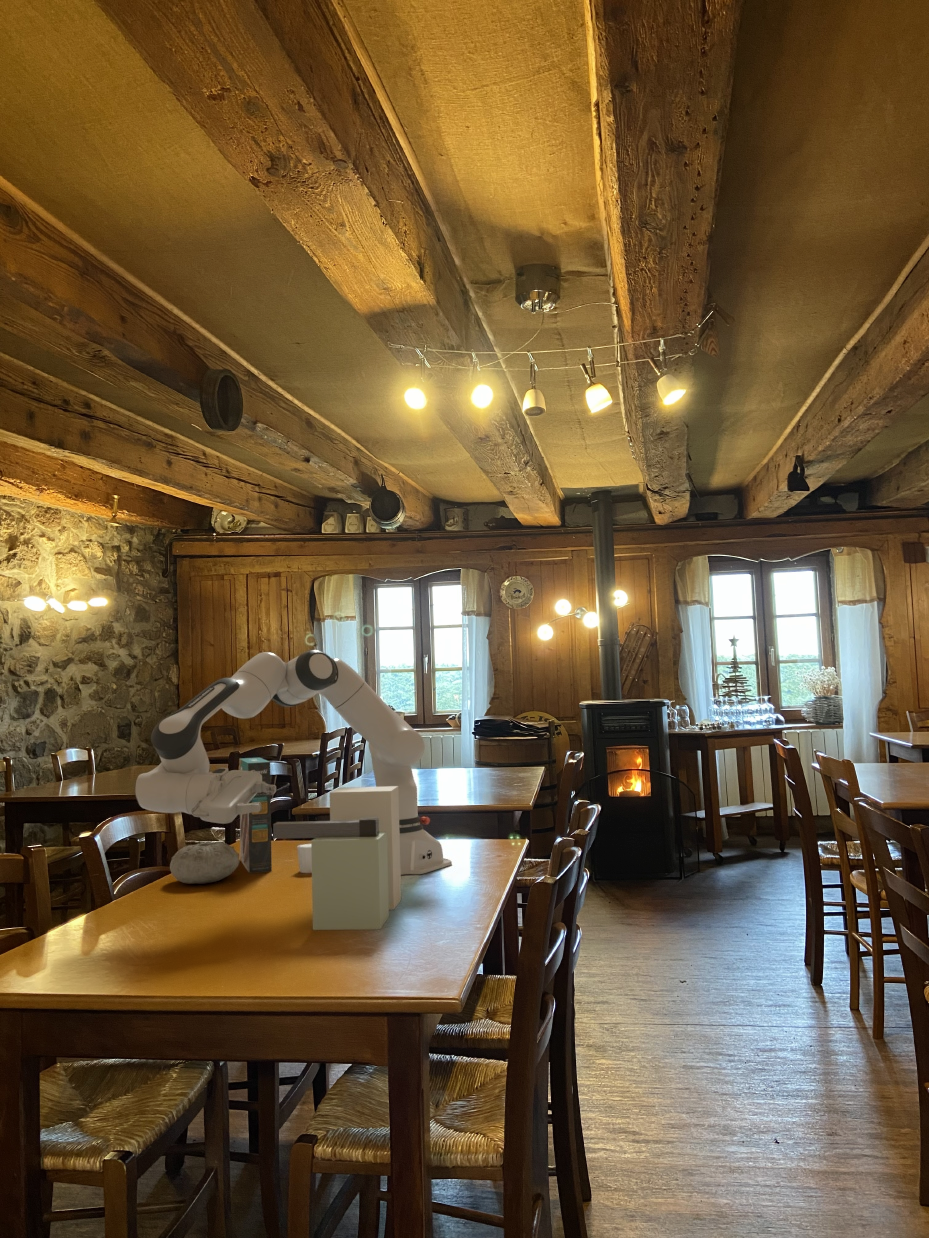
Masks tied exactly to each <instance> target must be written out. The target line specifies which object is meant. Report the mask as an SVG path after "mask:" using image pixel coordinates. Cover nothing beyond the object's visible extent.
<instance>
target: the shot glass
mask: <svg viewBox="0 0 929 1238" xmlns="http://www.w3.org/2000/svg"><path fill="white" fill-rule="evenodd" d="M296 848H297V849H296V850H297V858H298V866H299V867H298V868H299V873H302V874H312V849H311V843H310V842H309V843H301V844H298V845H297V846H296Z"/></svg>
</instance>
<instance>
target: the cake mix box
mask: <svg viewBox="0 0 929 1238" xmlns="http://www.w3.org/2000/svg"><path fill="white" fill-rule="evenodd" d="M238 760H239V761H238V763H239V764H238V765H239V767H238V768H239V769H238V770H243V771H253V772H258V773H260V774H261V775H262V782H265V783H267V784H269V785H271V761H269V760H267V759H264V758H262V757H245V758H239V759H238ZM271 796H272V795H271V794H270V795H267V793H265V792H261V793H257V794H256V795H255V796H254V797H253V798H252V799H251V801H250V802H249V803H253V802H260V803H261V807H262V809H261V810H260V811H259V812H258V813H253V812H251V813H247V814H243V815H239V838H240V839H239V841H240V842H239V843H240V846H239V847H240V848H239V850H240V851H239V860H240V862H241V863H242V864H243V867H244V868H245V869H246V871H247V872H248V874H257V873H267V872H272V871H273V869H272V868H273V867H272V865H273V864H272V805H271V804H272V803H271V802H272V801H271ZM249 803H248V804H249Z"/></svg>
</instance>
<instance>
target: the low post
mask: <svg viewBox="0 0 929 1238" xmlns="http://www.w3.org/2000/svg"><path fill="white" fill-rule="evenodd" d="M311 849H312V873H311V885H312V886H311V887H312V888H311V891H312V892H311V893H312V895H311V898H312V903H311V904H312V930H313V931H332V930H333V931H335V930H336V931H337V930H338V931H339V930H341V931H342V930H343V931H344V930H346V931H348V930H357V931H358V930H381V929H382V928H383V926H384V925H385V923H387V921H388V919H389V918H390V910H389V896H388V856H387V832H379V835H377V836H376V837H328V838H312V839H311Z"/></svg>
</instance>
